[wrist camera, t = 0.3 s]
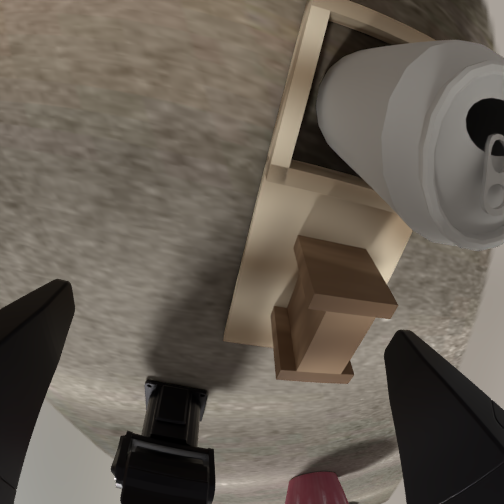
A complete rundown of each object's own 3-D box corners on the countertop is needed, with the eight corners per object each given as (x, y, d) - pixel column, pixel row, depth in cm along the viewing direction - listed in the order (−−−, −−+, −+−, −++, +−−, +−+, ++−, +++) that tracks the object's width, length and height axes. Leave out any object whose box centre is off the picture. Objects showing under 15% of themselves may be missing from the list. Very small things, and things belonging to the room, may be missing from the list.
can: (425, 61, 15) (574, 81, 5) (416, 168, 19) (536, 265, 9) (312, 44, 15) (411, 5, 5) (311, 163, 19) (384, 278, 9)
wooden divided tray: (344, 348, 27) (362, 410, 22) (223, 334, 26) (219, 402, 20) (461, 66, 15) (531, 76, 9) (307, -1, 13) (339, -37, 8)
